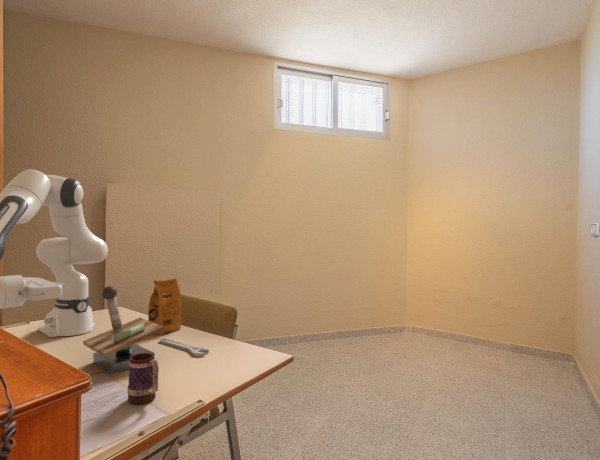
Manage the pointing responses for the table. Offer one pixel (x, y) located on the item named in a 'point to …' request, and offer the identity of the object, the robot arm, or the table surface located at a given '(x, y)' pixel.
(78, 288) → the robot arm
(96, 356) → the stand
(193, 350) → the adjustable wrench
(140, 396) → the mug
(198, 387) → the table surface
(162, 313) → the coffee package
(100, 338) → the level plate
